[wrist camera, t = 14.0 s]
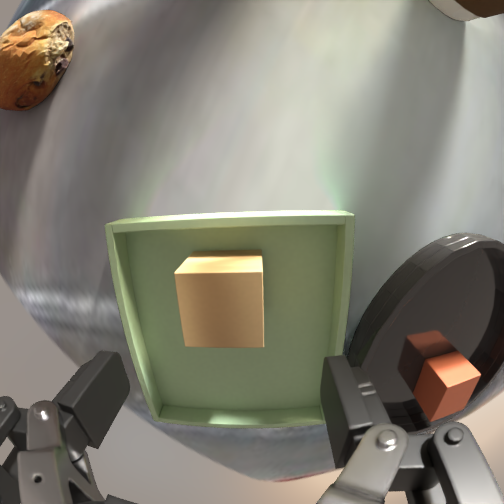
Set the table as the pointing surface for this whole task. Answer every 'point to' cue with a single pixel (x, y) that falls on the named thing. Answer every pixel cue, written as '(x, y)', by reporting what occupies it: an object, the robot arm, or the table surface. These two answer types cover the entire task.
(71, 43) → the bread roll
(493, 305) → the pan
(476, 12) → the coffee cup
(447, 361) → the terracotta block
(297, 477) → the table surface
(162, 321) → the tray
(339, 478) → the robot arm
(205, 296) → the beech block
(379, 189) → the table surface
